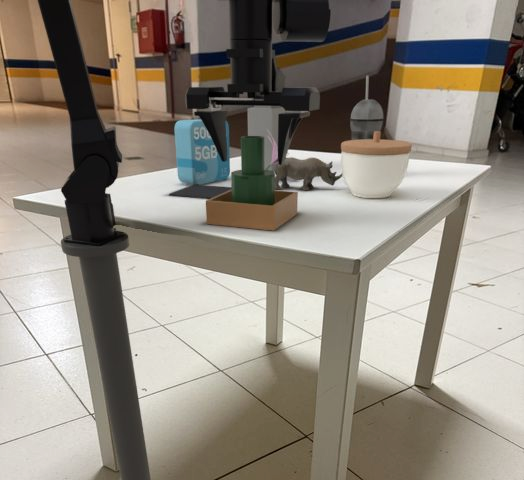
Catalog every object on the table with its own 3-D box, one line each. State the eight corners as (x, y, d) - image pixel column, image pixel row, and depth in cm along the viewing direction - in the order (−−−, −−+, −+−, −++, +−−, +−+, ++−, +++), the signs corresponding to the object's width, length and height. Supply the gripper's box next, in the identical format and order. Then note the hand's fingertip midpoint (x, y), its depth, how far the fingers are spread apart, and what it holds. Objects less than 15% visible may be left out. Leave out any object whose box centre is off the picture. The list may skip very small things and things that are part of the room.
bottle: (265, 225, 75) (265, 140, 69) (225, 221, 77) (222, 138, 71) (280, 215, 80) (281, 135, 74) (242, 212, 82) (240, 134, 76)
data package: (193, 185, 101) (189, 121, 96) (177, 183, 103) (173, 120, 98) (230, 178, 110) (229, 119, 104) (215, 176, 112) (212, 118, 107)
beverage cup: (384, 174, 114) (394, 75, 104) (366, 179, 109) (376, 75, 99) (357, 171, 118) (365, 75, 108) (339, 175, 113) (346, 75, 104)
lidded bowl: (363, 185, 102) (368, 127, 97) (417, 194, 94) (427, 131, 89) (324, 194, 94) (327, 131, 89) (380, 205, 87) (387, 136, 81)
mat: (216, 199, 91) (215, 197, 91) (168, 195, 94) (168, 193, 94) (238, 189, 99) (237, 187, 99) (193, 186, 103) (193, 184, 103)
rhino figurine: (341, 192, 97) (343, 159, 94) (271, 190, 99) (272, 158, 96) (341, 188, 100) (344, 156, 97) (274, 186, 102) (275, 155, 99)
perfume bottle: (271, 171, 119) (272, 86, 110) (248, 168, 122) (247, 86, 113) (285, 167, 124) (287, 85, 115) (263, 165, 127) (262, 85, 118)
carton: (274, 230, 72) (274, 206, 71) (206, 224, 76) (205, 200, 74) (297, 213, 81) (297, 191, 79) (236, 208, 85) (235, 187, 83)
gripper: (333, 42, 70) (326, 159, 78) (215, 45, 76) (219, 153, 84) (310, 37, 61) (305, 169, 69) (179, 41, 67) (187, 162, 75)
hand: (252, 163), depth 74 cm, fingers open, 9 cm apart
